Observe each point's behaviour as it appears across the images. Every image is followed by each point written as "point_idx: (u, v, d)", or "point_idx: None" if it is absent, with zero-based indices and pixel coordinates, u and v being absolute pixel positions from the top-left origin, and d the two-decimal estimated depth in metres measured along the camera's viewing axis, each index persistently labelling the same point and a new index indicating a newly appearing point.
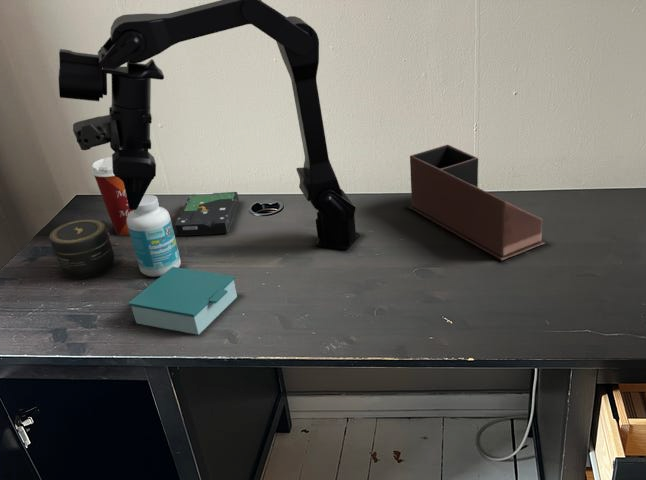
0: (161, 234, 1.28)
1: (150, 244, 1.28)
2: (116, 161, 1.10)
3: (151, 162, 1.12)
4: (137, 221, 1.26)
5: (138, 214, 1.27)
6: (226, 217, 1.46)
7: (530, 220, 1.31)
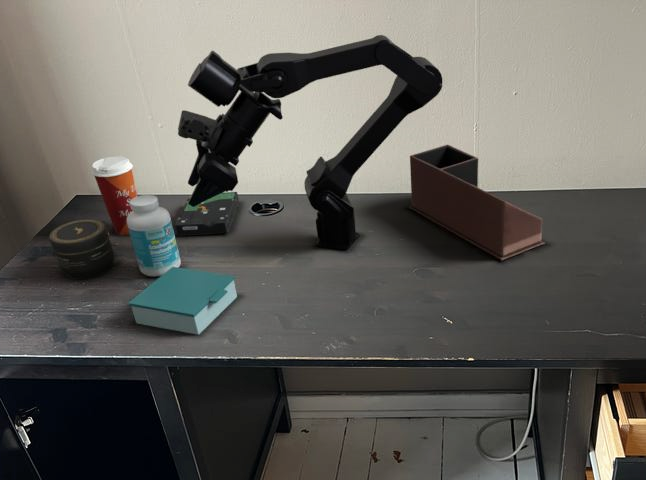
0: (161, 234, 1.28)
1: (150, 244, 1.28)
2: (208, 162, 1.17)
3: (236, 178, 1.20)
4: (137, 221, 1.26)
5: (138, 214, 1.27)
6: (226, 217, 1.46)
7: (530, 220, 1.31)
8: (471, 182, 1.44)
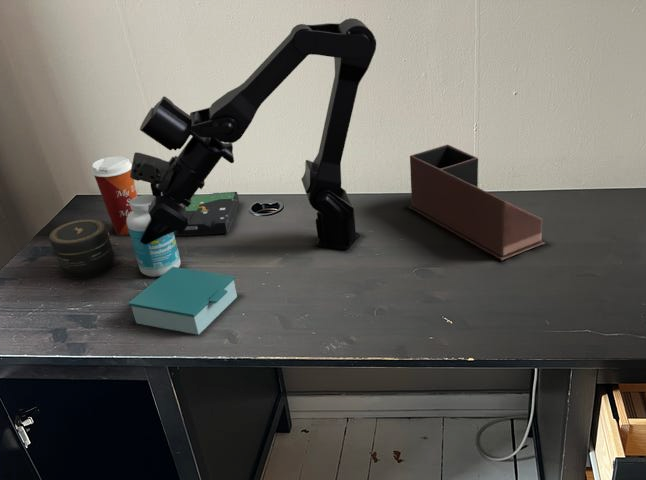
0: None
1: (150, 244, 1.28)
2: (158, 205, 1.19)
3: (185, 221, 1.22)
4: (137, 221, 1.26)
5: (138, 214, 1.27)
6: (226, 217, 1.46)
7: (530, 220, 1.31)
8: (471, 182, 1.44)
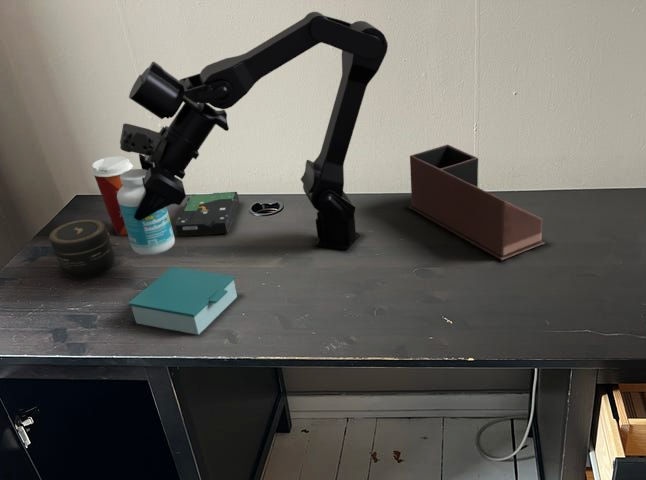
0: None
1: (144, 220, 1.22)
2: (154, 176, 1.14)
3: (183, 192, 1.17)
4: (130, 196, 1.20)
5: (130, 188, 1.21)
6: (226, 217, 1.46)
7: (530, 220, 1.31)
8: (471, 182, 1.44)
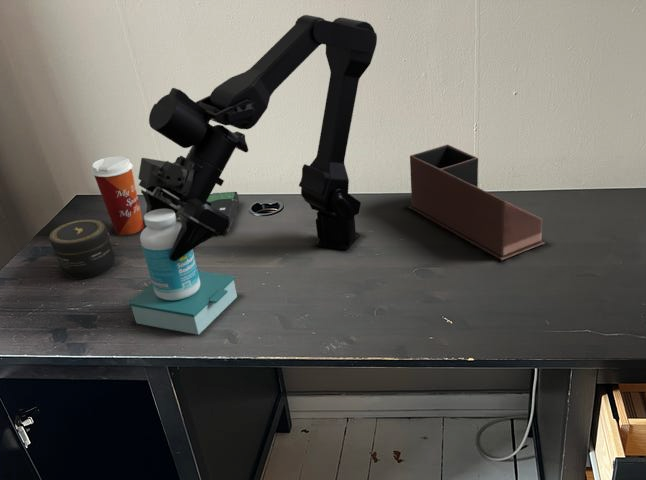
0: None
1: (178, 262, 1.14)
2: (202, 207, 1.07)
3: (228, 220, 1.11)
4: (163, 238, 1.11)
5: (160, 230, 1.12)
6: None
7: (530, 220, 1.31)
8: (471, 182, 1.44)
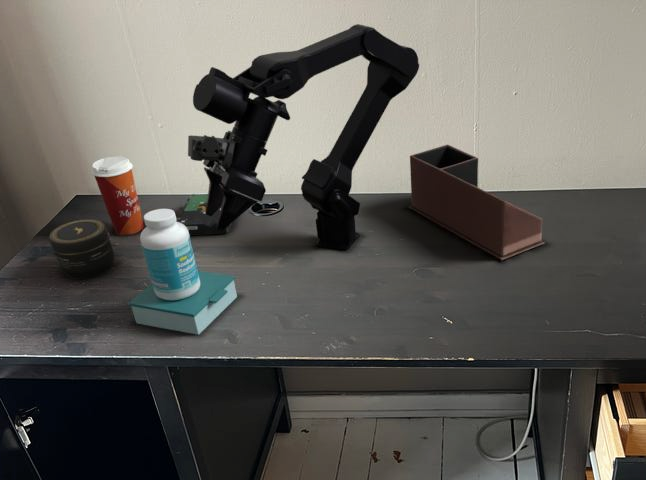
0: (188, 249, 1.15)
1: (178, 262, 1.14)
2: (233, 175, 1.12)
3: (263, 186, 1.14)
4: (163, 238, 1.11)
5: (160, 230, 1.12)
6: None
7: (530, 220, 1.31)
8: (471, 182, 1.44)
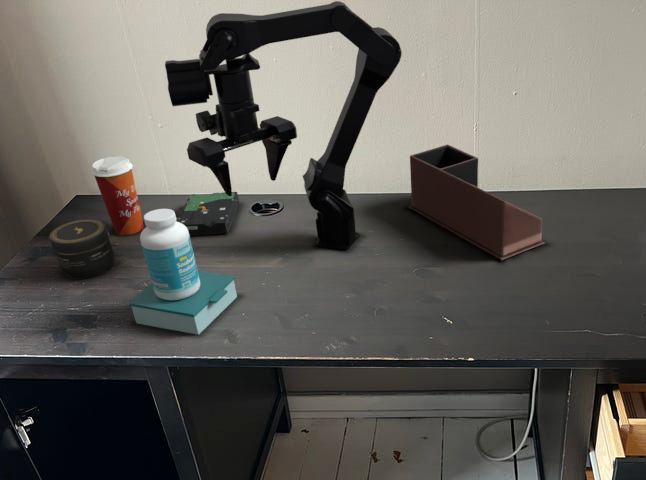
0: (188, 249, 1.15)
1: (178, 262, 1.14)
2: None
3: (202, 152, 1.19)
4: (163, 238, 1.11)
5: (160, 230, 1.12)
6: (226, 217, 1.46)
7: (530, 220, 1.31)
8: (471, 182, 1.44)
